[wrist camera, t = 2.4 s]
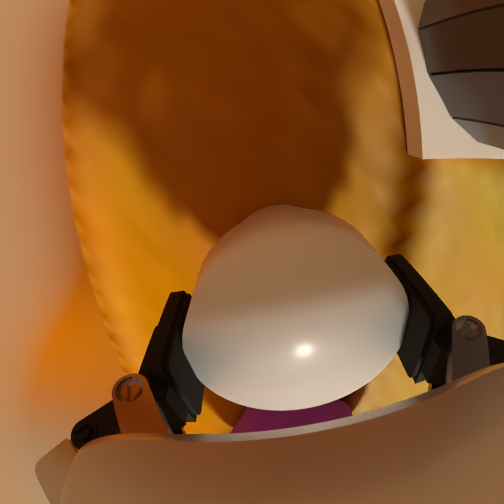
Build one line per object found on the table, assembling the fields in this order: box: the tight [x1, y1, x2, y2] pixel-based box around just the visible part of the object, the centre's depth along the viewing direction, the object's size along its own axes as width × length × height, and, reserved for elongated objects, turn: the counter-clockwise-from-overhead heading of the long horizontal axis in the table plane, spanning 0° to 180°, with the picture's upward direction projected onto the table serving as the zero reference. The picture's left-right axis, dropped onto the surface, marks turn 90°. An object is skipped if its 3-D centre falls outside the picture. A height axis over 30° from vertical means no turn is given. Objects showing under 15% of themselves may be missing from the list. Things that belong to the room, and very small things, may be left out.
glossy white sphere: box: [182, 204, 409, 411], centre depth 11 cm, size 8×8×7 cm
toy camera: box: [231, 400, 353, 433], centre depth 18 cm, size 11×14×10 cm
